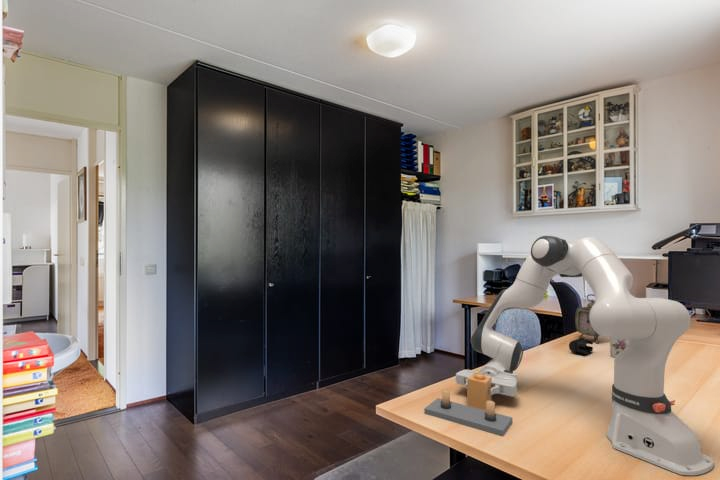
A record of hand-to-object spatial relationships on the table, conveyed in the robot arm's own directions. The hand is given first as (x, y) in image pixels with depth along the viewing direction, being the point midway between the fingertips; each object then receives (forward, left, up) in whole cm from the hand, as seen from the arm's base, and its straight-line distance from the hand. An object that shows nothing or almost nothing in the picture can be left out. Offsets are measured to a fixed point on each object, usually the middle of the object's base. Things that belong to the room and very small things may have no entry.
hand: (478, 389), depth 128 cm
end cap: (+27, -86, -6) cm, 91 cm away
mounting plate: (-5, +9, -6) cm, 12 cm away
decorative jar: (+12, -99, -6) cm, 100 cm away
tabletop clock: (+40, -113, -6) cm, 120 cm away
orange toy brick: (0, -1, -6) cm, 6 cm away
